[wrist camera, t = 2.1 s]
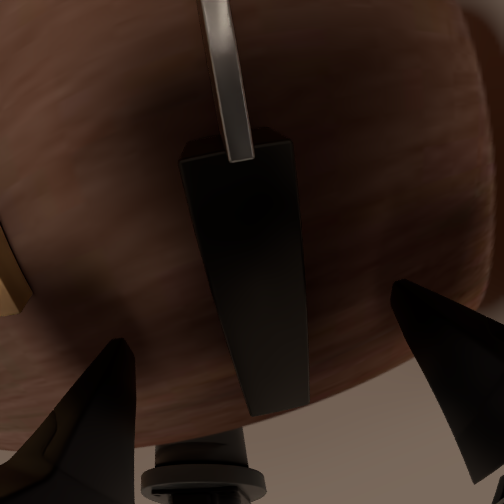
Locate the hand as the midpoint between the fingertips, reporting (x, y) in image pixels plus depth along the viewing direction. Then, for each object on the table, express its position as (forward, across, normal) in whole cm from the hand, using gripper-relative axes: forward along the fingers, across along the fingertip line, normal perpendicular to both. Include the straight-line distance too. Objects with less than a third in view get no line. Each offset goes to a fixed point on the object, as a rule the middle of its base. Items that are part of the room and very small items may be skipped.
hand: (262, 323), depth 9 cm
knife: (+1, 0, -6) cm, 6 cm away
